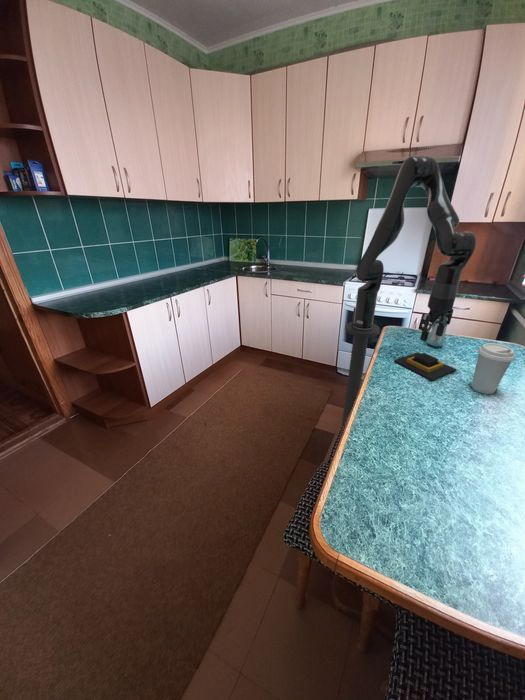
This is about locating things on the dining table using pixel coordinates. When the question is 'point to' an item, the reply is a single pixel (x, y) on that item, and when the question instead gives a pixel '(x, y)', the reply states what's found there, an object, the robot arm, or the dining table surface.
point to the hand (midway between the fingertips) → (431, 338)
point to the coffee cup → (491, 367)
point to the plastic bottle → (436, 337)
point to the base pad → (425, 368)
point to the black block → (426, 360)
